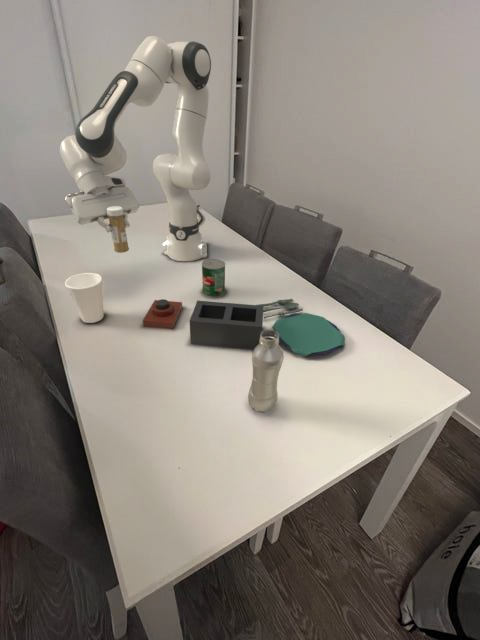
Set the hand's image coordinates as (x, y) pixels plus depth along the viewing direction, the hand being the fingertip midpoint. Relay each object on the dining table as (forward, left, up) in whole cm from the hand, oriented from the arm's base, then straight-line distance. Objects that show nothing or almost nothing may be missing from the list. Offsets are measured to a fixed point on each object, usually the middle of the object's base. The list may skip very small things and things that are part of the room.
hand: (119, 228), depth 103 cm
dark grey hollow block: (+19, +36, -23) cm, 47 cm away
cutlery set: (+12, +57, -23) cm, 63 cm away
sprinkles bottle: (0, -1, -7) cm, 7 cm away
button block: (+12, +15, -23) cm, 30 cm away
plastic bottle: (+44, +47, -23) cm, 68 cm away
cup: (+16, -6, -23) cm, 29 cm away
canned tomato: (-6, +28, -23) cm, 37 cm away
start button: (+12, +15, -20) cm, 27 cm away
